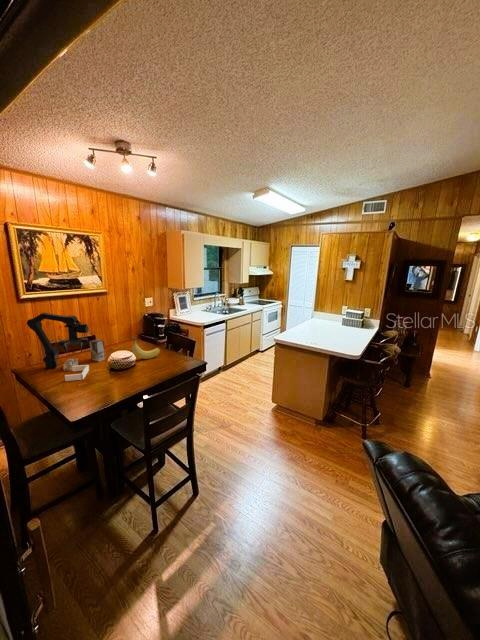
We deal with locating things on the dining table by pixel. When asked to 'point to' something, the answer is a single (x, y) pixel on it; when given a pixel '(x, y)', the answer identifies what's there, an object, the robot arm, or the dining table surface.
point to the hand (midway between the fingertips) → (74, 352)
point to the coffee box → (97, 350)
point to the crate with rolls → (70, 364)
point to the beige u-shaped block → (78, 376)
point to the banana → (144, 354)
